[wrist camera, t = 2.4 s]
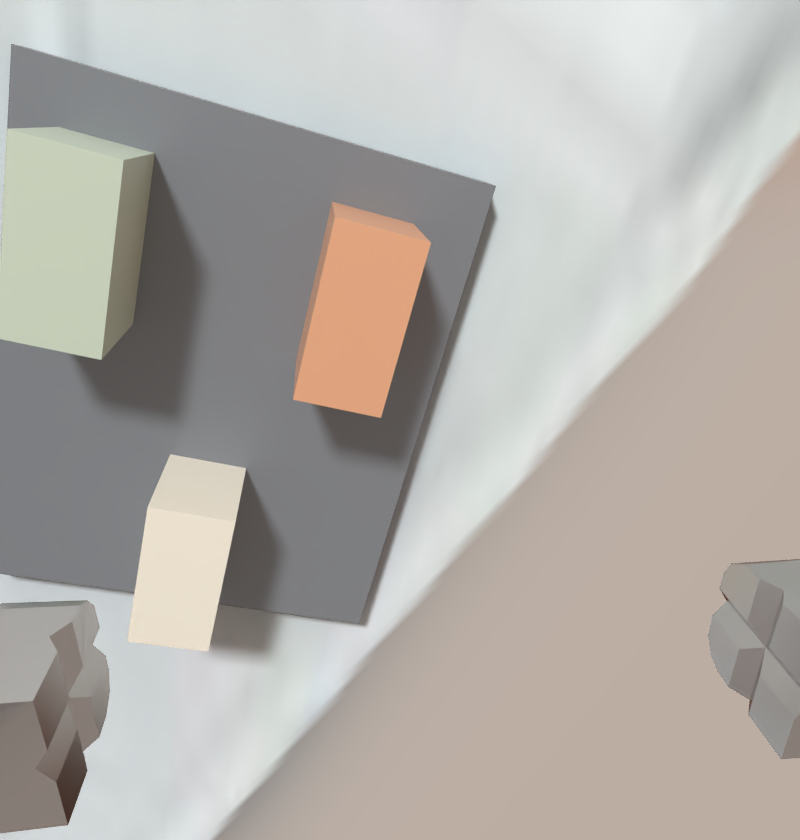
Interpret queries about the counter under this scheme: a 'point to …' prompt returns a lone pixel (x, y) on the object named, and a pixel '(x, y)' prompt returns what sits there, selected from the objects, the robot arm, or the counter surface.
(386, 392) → the terracotta brick
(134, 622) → the cream brick
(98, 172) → the sage brick
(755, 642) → the robot arm
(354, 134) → the counter surface
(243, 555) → the baseplate
